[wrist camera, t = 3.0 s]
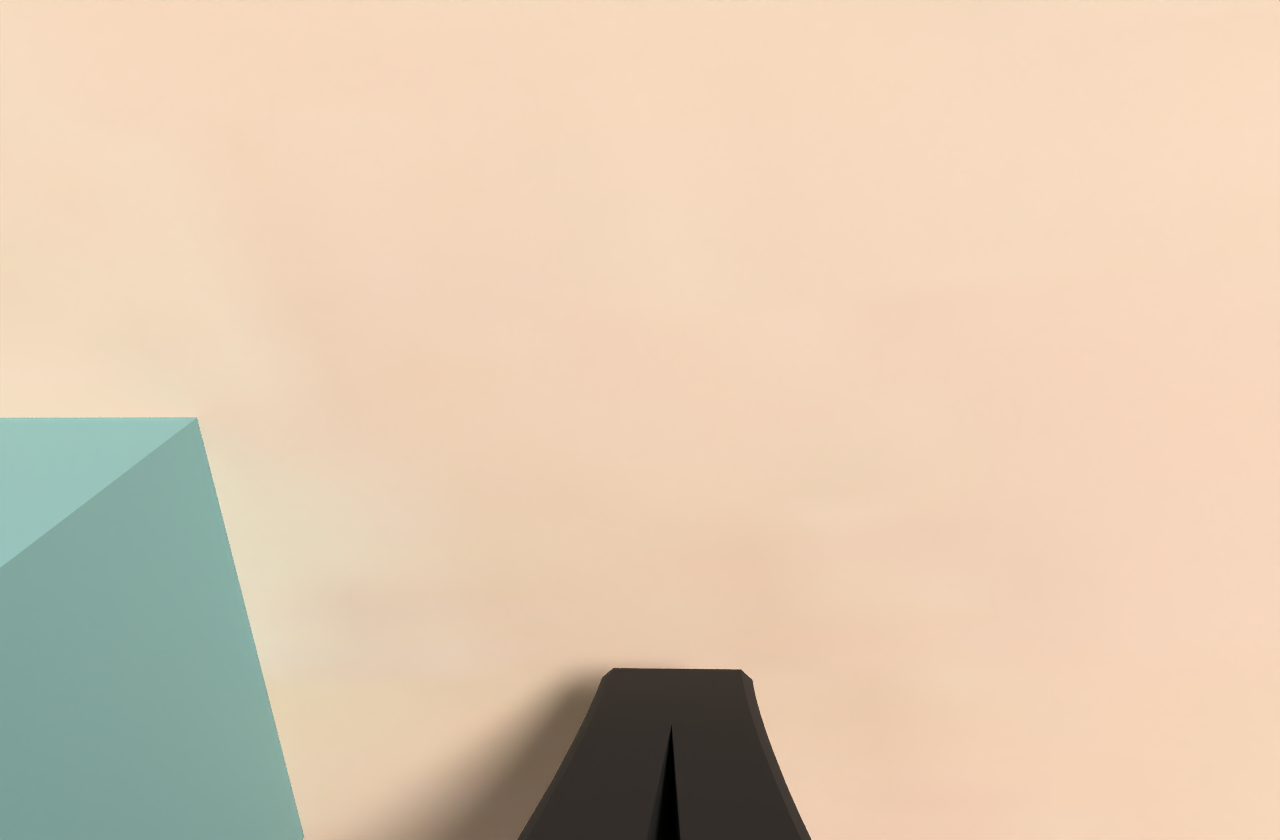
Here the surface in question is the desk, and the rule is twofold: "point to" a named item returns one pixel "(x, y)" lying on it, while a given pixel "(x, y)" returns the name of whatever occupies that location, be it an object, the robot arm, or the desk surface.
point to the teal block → (127, 644)
